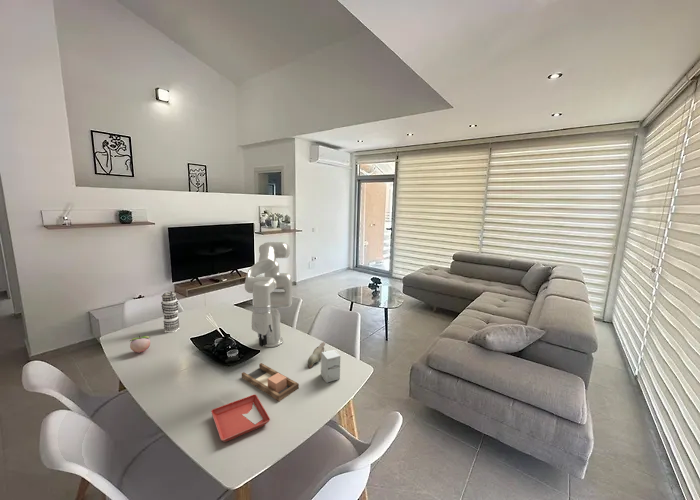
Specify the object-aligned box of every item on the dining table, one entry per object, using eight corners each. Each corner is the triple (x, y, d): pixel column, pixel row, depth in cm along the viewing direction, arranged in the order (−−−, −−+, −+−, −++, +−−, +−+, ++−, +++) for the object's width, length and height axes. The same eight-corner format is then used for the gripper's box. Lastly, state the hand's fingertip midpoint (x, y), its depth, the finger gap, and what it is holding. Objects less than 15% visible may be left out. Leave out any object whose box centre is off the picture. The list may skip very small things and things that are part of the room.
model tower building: (174, 333, 187) (171, 295, 183) (160, 332, 188) (156, 295, 183) (183, 327, 196) (180, 290, 192) (169, 326, 197) (166, 290, 192)
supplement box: (326, 383, 141) (326, 359, 139) (320, 375, 148) (320, 351, 146) (340, 379, 145) (340, 355, 142) (334, 371, 151) (334, 348, 149)
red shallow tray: (271, 426, 115) (271, 419, 114) (221, 448, 104) (221, 440, 104) (255, 400, 129) (255, 393, 128) (211, 417, 119) (210, 409, 118)
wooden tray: (241, 378, 143) (241, 373, 143) (261, 368, 152) (261, 362, 152) (279, 402, 127) (279, 396, 127) (298, 389, 136) (298, 383, 136)
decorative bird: (304, 367, 154) (304, 354, 153) (319, 353, 169) (319, 340, 167) (313, 370, 152) (314, 356, 151) (328, 355, 167) (328, 342, 165)
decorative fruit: (131, 358, 158) (129, 341, 156) (130, 352, 164) (128, 335, 162) (152, 353, 164) (151, 336, 162) (150, 347, 170) (148, 330, 168)
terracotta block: (267, 388, 136) (267, 378, 135) (278, 382, 140) (277, 372, 139) (276, 393, 132) (276, 383, 131) (286, 387, 137) (286, 377, 136)
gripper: (245, 306, 137) (246, 343, 141) (265, 315, 128) (266, 353, 132) (258, 302, 143) (259, 337, 146) (279, 310, 134) (280, 347, 138)
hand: (263, 345), depth 139 cm, fingers closed
